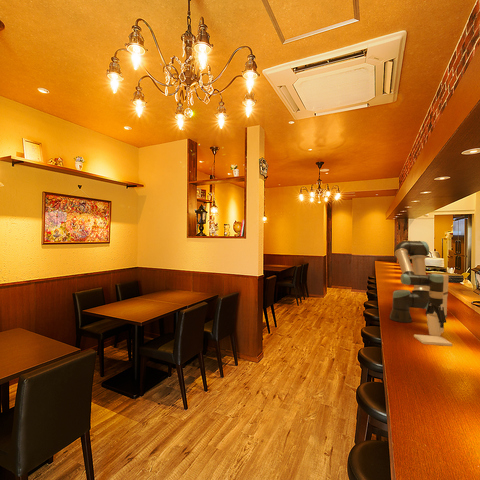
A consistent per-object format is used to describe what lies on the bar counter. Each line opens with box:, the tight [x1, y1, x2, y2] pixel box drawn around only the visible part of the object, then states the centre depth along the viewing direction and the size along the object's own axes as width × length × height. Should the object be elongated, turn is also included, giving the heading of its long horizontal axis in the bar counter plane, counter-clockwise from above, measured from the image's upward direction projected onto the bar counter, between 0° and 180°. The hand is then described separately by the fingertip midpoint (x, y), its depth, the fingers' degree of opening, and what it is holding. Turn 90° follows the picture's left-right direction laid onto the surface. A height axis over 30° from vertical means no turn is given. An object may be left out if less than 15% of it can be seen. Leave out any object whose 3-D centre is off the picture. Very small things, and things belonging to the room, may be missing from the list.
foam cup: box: [426, 314, 442, 336], centre depth 181 cm, size 10×9×13 cm
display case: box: [425, 272, 449, 318], centre depth 225 cm, size 11×11×35 cm
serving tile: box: [413, 334, 453, 347], centre depth 170 cm, size 12×16×2 cm
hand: (435, 328), depth 181 cm, fingers open, 13 cm apart
